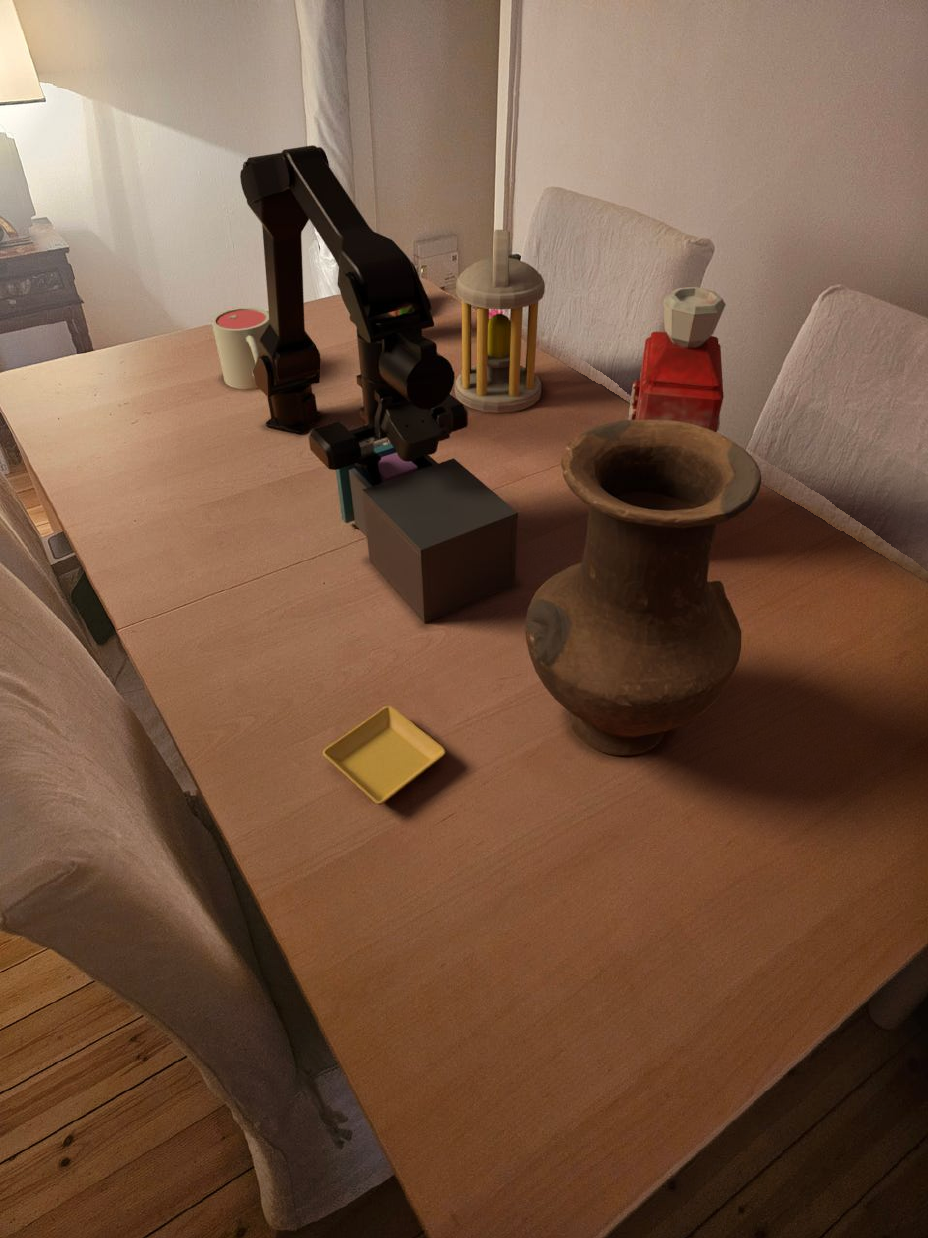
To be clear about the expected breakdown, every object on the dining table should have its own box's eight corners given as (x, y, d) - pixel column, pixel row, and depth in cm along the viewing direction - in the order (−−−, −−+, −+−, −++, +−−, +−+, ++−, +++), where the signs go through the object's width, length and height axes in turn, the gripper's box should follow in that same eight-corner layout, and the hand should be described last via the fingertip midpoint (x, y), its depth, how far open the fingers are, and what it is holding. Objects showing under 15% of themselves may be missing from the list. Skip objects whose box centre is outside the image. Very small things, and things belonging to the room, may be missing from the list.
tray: (328, 503, 110) (320, 446, 104) (402, 478, 114) (398, 421, 108) (387, 569, 100) (382, 510, 94) (466, 539, 104) (466, 480, 98)
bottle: (692, 564, 101) (748, 327, 81) (609, 554, 103) (643, 319, 83) (692, 499, 112) (742, 274, 91) (616, 490, 113) (649, 268, 93)
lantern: (456, 371, 140) (454, 214, 123) (539, 372, 140) (549, 215, 123) (452, 412, 130) (449, 247, 113) (542, 413, 129) (553, 248, 112)
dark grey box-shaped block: (369, 561, 102) (361, 489, 95) (455, 528, 107) (453, 457, 100) (424, 623, 94) (420, 550, 87) (514, 585, 99) (518, 512, 92)
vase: (717, 670, 88) (790, 419, 68) (706, 819, 74) (794, 561, 54) (541, 637, 92) (561, 391, 72) (500, 773, 78) (510, 516, 58)
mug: (218, 370, 141) (206, 313, 134) (271, 360, 144) (261, 303, 137) (237, 405, 132) (225, 346, 125) (293, 393, 135) (284, 334, 128)
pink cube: (388, 509, 101) (385, 478, 98) (371, 491, 104) (368, 461, 101) (419, 497, 103) (418, 467, 100) (402, 481, 106) (400, 450, 103)
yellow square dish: (322, 764, 79) (319, 751, 78) (390, 716, 84) (388, 702, 82) (380, 819, 75) (378, 805, 73) (448, 765, 79) (448, 751, 78)
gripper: (343, 424, 84) (357, 546, 94) (494, 378, 91) (492, 496, 102) (298, 381, 91) (316, 499, 101) (442, 342, 98) (445, 455, 109)
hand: (394, 488), depth 103 cm, fingers closed on pink cube, 4 cm apart
